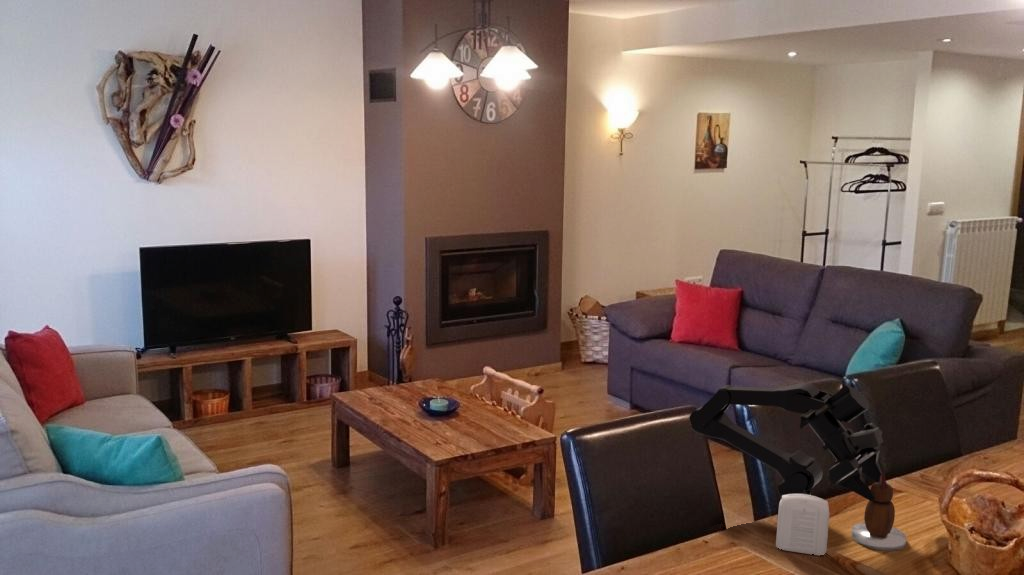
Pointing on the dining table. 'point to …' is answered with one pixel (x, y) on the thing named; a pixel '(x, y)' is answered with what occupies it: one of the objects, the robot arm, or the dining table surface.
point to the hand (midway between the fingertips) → (879, 493)
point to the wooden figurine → (880, 509)
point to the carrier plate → (879, 538)
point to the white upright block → (803, 524)
